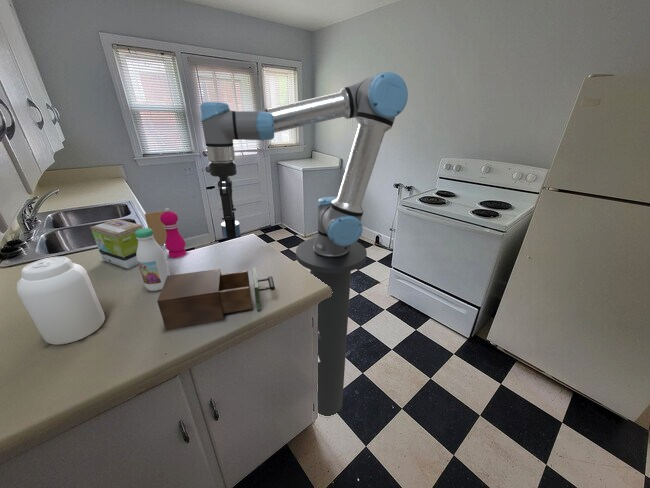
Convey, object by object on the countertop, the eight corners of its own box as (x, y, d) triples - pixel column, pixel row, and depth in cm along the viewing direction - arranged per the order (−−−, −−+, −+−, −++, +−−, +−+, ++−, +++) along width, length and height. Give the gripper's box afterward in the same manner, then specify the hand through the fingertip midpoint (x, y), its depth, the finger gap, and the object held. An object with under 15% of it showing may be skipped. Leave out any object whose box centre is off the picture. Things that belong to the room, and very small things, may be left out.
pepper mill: (163, 257, 109) (151, 209, 101) (177, 249, 116) (166, 204, 107) (178, 259, 108) (167, 211, 99) (191, 251, 114) (181, 206, 105)
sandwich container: (169, 231, 134) (162, 201, 128) (175, 241, 123) (167, 210, 116) (149, 234, 129) (141, 204, 123) (153, 246, 118) (144, 213, 112)
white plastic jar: (30, 345, 67) (-12, 276, 58) (75, 312, 78) (46, 250, 69) (79, 347, 66) (44, 278, 58) (117, 314, 77) (92, 252, 69)
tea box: (101, 261, 105) (88, 226, 99) (127, 251, 113) (116, 218, 107) (127, 269, 100) (115, 232, 94) (152, 258, 108) (142, 223, 102)
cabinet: (224, 294, 87) (220, 268, 83) (223, 320, 76) (218, 291, 72) (174, 302, 83) (167, 275, 79) (165, 330, 72) (156, 301, 68)
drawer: (272, 285, 90) (270, 265, 87) (277, 306, 80) (275, 284, 77) (214, 294, 85) (210, 273, 82) (211, 318, 75) (207, 295, 72)
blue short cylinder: (240, 230, 92) (239, 219, 91) (240, 237, 87) (239, 225, 86) (223, 232, 91) (221, 221, 89) (222, 238, 86) (220, 227, 84)
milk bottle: (162, 276, 96) (147, 224, 87) (177, 282, 93) (163, 228, 84) (140, 287, 89) (122, 232, 81) (155, 294, 86) (138, 237, 78)
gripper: (211, 157, 86) (221, 225, 96) (204, 166, 70) (217, 246, 80) (235, 157, 88) (243, 223, 98) (234, 166, 72) (244, 244, 82)
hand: (231, 233), depth 89 cm, fingers closed on blue short cylinder, 6 cm apart
